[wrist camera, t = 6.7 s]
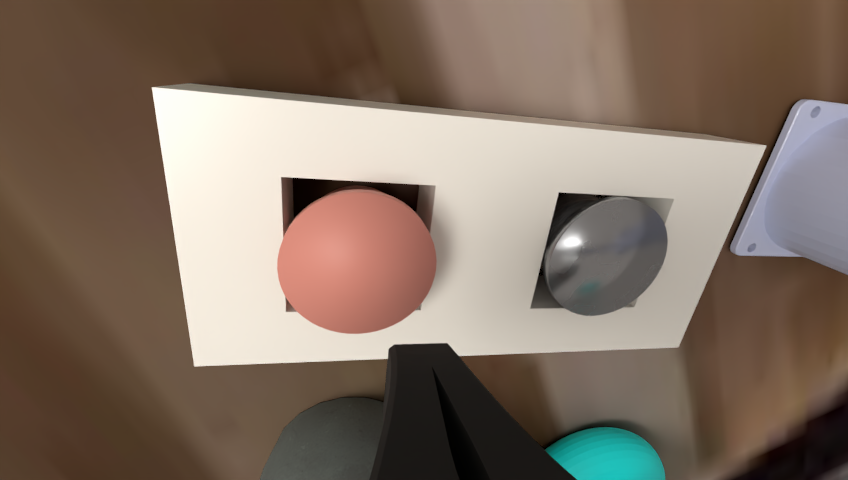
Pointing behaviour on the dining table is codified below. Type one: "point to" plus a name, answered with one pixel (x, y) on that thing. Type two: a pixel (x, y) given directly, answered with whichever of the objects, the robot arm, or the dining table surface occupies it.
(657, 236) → the grey plug
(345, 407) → the bottle
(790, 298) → the dining table surface
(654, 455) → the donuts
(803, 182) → the robot arm
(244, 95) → the socket block
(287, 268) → the red plug
